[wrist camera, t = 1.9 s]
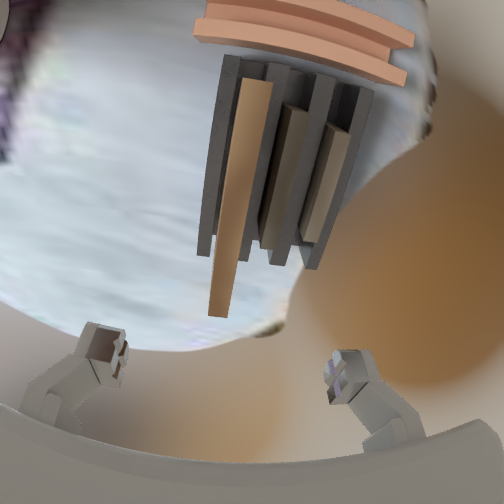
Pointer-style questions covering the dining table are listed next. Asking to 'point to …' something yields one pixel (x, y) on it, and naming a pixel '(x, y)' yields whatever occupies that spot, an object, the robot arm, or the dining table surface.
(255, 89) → the tall sheet
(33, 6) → the dining table surface
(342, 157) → the offcut
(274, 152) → the offcut
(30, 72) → the dining table surface
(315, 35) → the holder
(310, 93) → the rack
